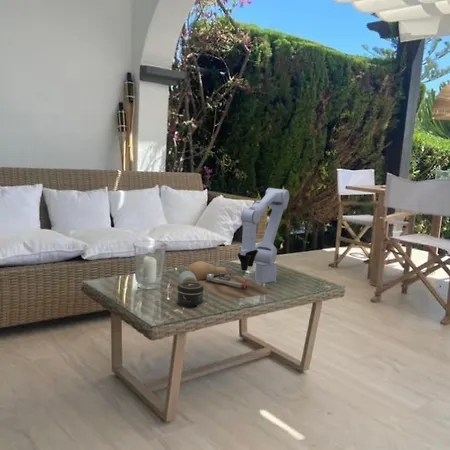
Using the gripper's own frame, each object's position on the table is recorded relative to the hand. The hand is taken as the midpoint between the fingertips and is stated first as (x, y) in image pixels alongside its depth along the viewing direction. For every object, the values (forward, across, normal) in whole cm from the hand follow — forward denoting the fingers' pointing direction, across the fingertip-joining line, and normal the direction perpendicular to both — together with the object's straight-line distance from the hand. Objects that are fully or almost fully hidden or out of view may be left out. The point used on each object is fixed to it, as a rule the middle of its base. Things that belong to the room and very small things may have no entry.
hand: (247, 268), depth 211 cm
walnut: (+9, -5, -11) cm, 15 cm away
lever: (+8, 0, -9) cm, 12 cm away
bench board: (+10, +1, -5) cm, 11 cm away
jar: (+10, +27, -14) cm, 32 cm away
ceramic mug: (+10, +12, -21) cm, 26 cm away
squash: (+10, -8, -22) cm, 25 cm away
